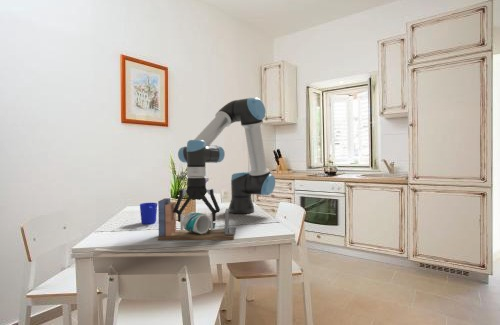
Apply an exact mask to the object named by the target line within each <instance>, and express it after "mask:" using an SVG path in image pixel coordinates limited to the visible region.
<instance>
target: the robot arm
mask: <svg viewBox="0 0 500 325" xmlns="http://www.w3.org/2000/svg"><path fill="white" fill-rule="evenodd" d="M265 117H266V107H265V104H264V102H263V101H262V99H260V98H258V97H248V98H242V99H241V98H240V99H235V100H231V101H229V102H227V103H226V104H225V105H223V106H222V107H221V108H220V109H218V111H217V112H216V113H215V117H214V118H213V119H212V120H211V121H210V122H209V123H208V124H207V126H205V128H204V129H203V130H202V131H201V132H200V133H199V134H198V135H197V136H196V137H195V138H194V139H189V140H188V141H187V142H186V146H182V147H180V148H179V150H178V152H177V156H178V159H179V160H180V162H182V163H186V164H187V165H186V166H187V167H186V169H187V170H186V171H187V172H186V174H187V181H186V182H187V183H186V186H187V188H186V189H180V190H179V194H178V195H179V196H178V198H177V200H176V205H175V208H174V211H173V212H174V213H176V215H177V222H179V224H180V230H185V229H184V226H183V219H184V217H185V215H184V214H185V213H183V212H184V210H185V209H186V207H187V206H188V204H190V202H191V200H192V201H195V200H197V201H199V200H202V201H203V203H204V204H205V205H206V206H207V208H208V209H209V211H210V216H209V218H210V221H211V228H210V229H211V230H213V223H214V222H216V218H217V216H216V215H217V213H220V211H221V208H220V206H219V204H218V202H217V199H216V197H215V195H214V191H215V190H214V189H213V188H211V189H207V188H206V187H207V185H206V184H207V183H206V176H207V174H206V172H207V171H206V164H207V163H212V164H213V163H214V164H215V163H216V164H217V163H221V162H222V161H224V159H225V150H224V148H223V147H221V146H218V145H212V143H213V142H215V140H216V139H217V138H218V136H219V135H221V133H222V132H223V130H225V128H228V127H229V126H231V124H233V123H237V122H238V123H239V122H240V125H241V127H242V128H244V134H245V138H246V144H247V145H246V147H247V150H248V151H247V152H248V156H249V157H248V158H249V164H250V165H249V166H250V171H244V172H235V173H233V174H231V180H230V181H231V182H230V184H231V187H230V188H231V190H230V191H231V200H230V202H229V206H228V209H229V213H231V214H249V213H250V214H251V213H255V207H254V203H253V199H252V195H257V196H270V195H271V194H272V193H273V191H274V189H275V186H276V178H275V175H273V174H271V171H270V169H269V168H267V163H266V156H265V154H266V153H265V149H264V143H263V142H264V141H263V134H262V128H261V125H262V124H263V119H265ZM186 194H187V196H188V197H187V198H186V200H185V201H184V203H182V200H183V198H184V195H186ZM207 194H208V195H209V196H210V198H211V201H212V203H213V205H212V204H211V203H210V201H209V199H208V198H207V197H206V195H207ZM181 203H182V206H181ZM180 206H181V207H180ZM213 206H214V207H213ZM179 208H180V209H179Z"/></svg>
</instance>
